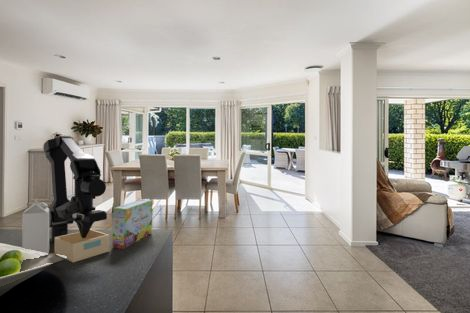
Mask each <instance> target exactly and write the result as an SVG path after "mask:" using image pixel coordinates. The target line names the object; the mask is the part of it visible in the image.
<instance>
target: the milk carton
mask: <svg viewBox="0 0 470 313" xmlns="http://www.w3.org/2000/svg"><path fill="white" fill-rule="evenodd" d="M21 216H22V217H21V220H22V224H21V225H22V226H21V228H22V229H21V230H22V232H21V234H22V235H21V236H22V238H21V240H22V245H21V246H22V247H21V248H25V249H31V250H36V251H41V252H47V253H48V254H49V253H50V241H49V238H50V227H49V204H47V203H46V202H43V201H42V202H40V201H39V198H38V197H37V198H36V199H35V200H34V203H33V204H31V205H30V206H29V207H28V208H26V209H25V210H24V211H23V213H22V215H21Z"/></svg>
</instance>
